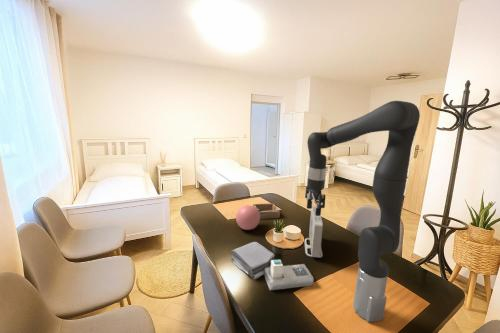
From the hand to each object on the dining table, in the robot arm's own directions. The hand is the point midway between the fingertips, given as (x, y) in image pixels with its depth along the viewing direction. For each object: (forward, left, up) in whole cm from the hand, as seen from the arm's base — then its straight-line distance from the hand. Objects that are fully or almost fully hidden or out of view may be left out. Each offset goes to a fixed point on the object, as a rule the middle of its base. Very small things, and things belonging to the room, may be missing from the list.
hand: (313, 211), depth 103 cm
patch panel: (-8, +14, -28) cm, 32 cm away
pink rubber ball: (+44, +20, -28) cm, 56 cm away
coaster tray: (+64, +4, -28) cm, 70 cm away
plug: (-8, +19, -28) cm, 34 cm away
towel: (+5, +26, -29) cm, 39 cm away
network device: (+15, -10, -28) cm, 34 cm away
